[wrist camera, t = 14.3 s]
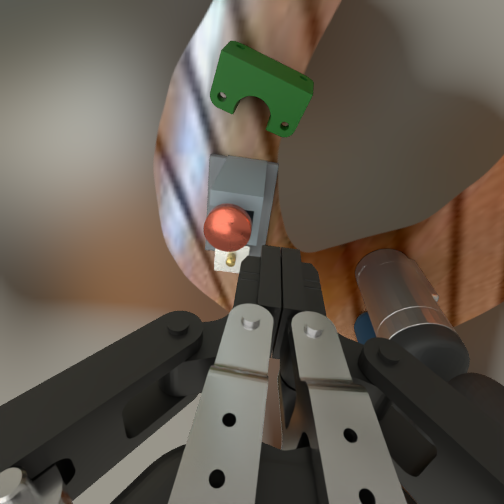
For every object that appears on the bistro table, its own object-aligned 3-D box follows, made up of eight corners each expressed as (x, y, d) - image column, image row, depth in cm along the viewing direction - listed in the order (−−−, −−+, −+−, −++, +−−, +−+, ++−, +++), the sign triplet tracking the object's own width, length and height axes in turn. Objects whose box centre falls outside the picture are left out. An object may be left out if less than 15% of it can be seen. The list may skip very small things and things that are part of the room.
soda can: (352, 334, 63) (366, 387, 52) (353, 308, 59) (368, 360, 49) (387, 332, 62) (409, 386, 52) (391, 306, 58) (415, 359, 48)
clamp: (236, 85, 44) (196, 95, 38) (251, 40, 40) (209, 41, 34) (304, 132, 43) (273, 150, 36) (326, 89, 38) (297, 101, 32)
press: (278, 162, 45) (279, 199, 33) (263, 253, 54) (259, 308, 42) (211, 152, 45) (187, 186, 33) (206, 245, 54) (186, 298, 42)
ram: (260, 171, 42) (253, 213, 31) (255, 204, 45) (247, 254, 34) (224, 166, 42) (204, 206, 31) (221, 200, 45) (202, 248, 34)
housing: (252, 227, 50) (249, 251, 44) (249, 253, 53) (245, 278, 46) (222, 223, 50) (214, 246, 44) (220, 249, 52) (212, 274, 46)
